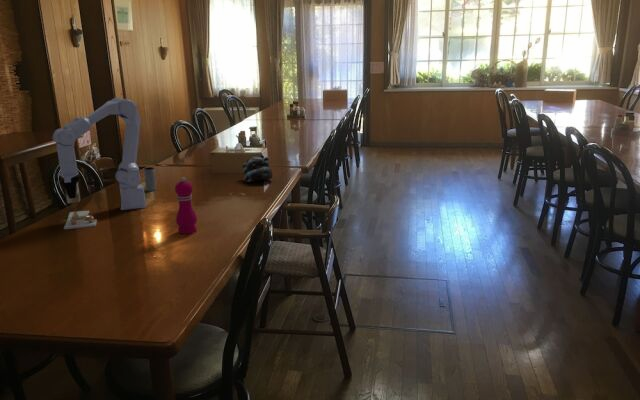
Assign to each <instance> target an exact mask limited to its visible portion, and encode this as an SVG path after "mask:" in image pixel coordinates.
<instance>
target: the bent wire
mask: <svg viewBox="0 0 640 400" xmlns="http://www.w3.org/2000/svg"><path fill="white" fill-rule="evenodd" d="M73 212H74V213H73V216H72V218H71V224H72V225H75V224H77V222H76V220H82V219H85V220H89V223H93V222H94V218H95V217H94V216H93V215H88V216H80V217H79V216H78V213H77V212H78V211H73Z"/></svg>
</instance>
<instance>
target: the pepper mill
mask: <svg viewBox="0 0 640 400" xmlns="http://www.w3.org/2000/svg"><path fill="white" fill-rule="evenodd" d="M186 179H187V178H186V177H185V176H184V177H183V176H182V177H180V181H178V182H177V183H176V184H175V187H174V192H175V194H177V196H176V197H177V201H178V205H179V206H178V211H177V214H176V219H175V222H176V224H177V226H178V233H179V234H180V233H182V234H181V235H189V234H188V233H192V234H194V233H193V232H195V231H196V230H198V229H197V225H196V224H197V222H198V217H197V214H196V212H195V210H194V208H193V205H192V199H193V197H192V196H193V195H192V193H193V190H194V188H193V185H192V184H191V182H190V181H186ZM196 232H197V231H196ZM196 232H195V233H196Z"/></svg>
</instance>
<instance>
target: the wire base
mask: <svg viewBox="0 0 640 400" xmlns="http://www.w3.org/2000/svg"><path fill="white" fill-rule="evenodd" d="M76 222H77V224H75V225H72V224H71V218H68V217H67V220H66V223H65V224H64V227H63V230H72V229H81V228H83V229H84V228H92V227H96V226H97V222H98V219H97V218H95V219H94V222H93V223H89V219H82V220H76Z"/></svg>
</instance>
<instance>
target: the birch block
mask: <svg viewBox="0 0 640 400" xmlns="http://www.w3.org/2000/svg"><path fill="white" fill-rule="evenodd" d="M80 195H81V194H80V188H79V181H78V182H77V185H76V198H71V199H69V197H68V194H67V192H66V190H65V196H66V203H67V204H75V203H80V201H81V196H80Z"/></svg>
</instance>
